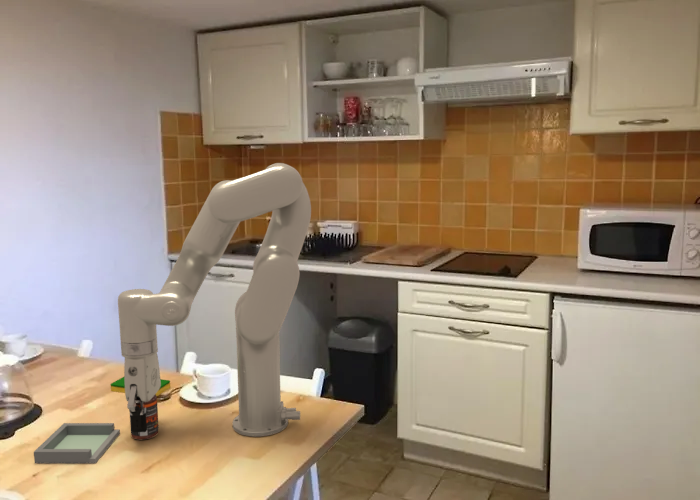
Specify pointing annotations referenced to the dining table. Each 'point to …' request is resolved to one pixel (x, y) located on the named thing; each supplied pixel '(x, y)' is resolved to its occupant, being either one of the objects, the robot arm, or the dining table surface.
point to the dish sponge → (120, 386)
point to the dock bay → (77, 443)
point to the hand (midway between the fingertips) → (144, 423)
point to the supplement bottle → (148, 420)
